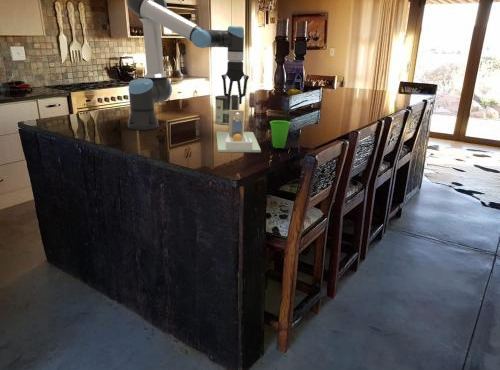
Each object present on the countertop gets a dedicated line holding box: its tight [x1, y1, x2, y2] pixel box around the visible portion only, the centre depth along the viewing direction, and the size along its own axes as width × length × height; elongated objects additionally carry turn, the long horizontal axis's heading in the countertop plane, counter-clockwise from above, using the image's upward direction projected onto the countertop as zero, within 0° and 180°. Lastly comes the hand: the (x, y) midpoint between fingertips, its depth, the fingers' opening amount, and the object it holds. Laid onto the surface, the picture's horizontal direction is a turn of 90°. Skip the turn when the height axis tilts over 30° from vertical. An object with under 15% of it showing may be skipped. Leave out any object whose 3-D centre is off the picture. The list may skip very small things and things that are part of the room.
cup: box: [269, 120, 291, 149], centre depth 172 cm, size 9×9×11 cm
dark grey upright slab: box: [231, 94, 242, 136], centre depth 185 cm, size 4×25×16 cm, turn 6°
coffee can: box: [214, 95, 232, 125], centre depth 216 cm, size 10×10×14 cm
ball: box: [233, 133, 242, 142], centre depth 175 cm, size 4×4×4 cm
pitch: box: [215, 109, 262, 153], centre depth 177 cm, size 18×32×13 cm, turn 6°
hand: (234, 110), depth 195 cm, fingers closed on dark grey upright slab, 3 cm apart
